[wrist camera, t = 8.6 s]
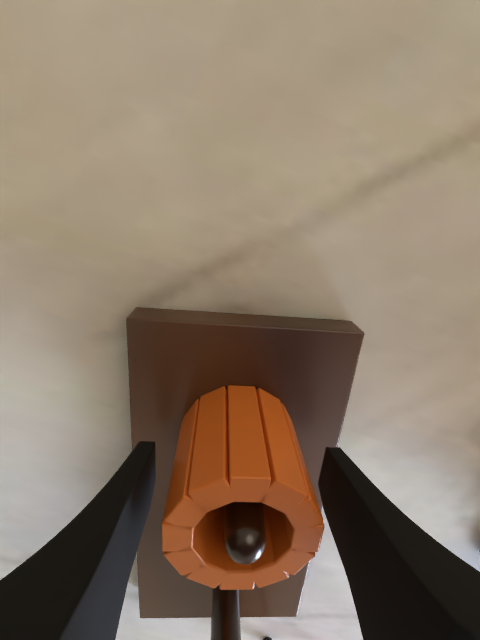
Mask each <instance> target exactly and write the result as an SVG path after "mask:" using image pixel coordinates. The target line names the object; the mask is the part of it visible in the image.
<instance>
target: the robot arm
mask: <svg viewBox="0 0 480 640" xmlns="http://www.w3.org/2000/svg"><path fill="white" fill-rule="evenodd" d="M155 482H156V449H155V442H152V441H140V442H139V443H138V444H137V445H136V446H135V448H134V449H133V451H132V452H131V454H130V455H129V456H128V458H127V459H126V460H125V462H124V463H123V464H122V466H121V467H120V468H119V469H118V471H117V472H116V473H115V474H114V475H113V477H112V478H111V479H110V480H109V482H108V483H107V484H106V485H105V486H104V487H103V489H102V490H101V491H100V492H99V493H98V494H97V495H96V496H95V497H94V499H93V500H92V501H91V502H90V503H89V504H88V505H87V506H86V507H85V508H84V509H83V510H82V511H81V512H80V513H79V514H78V515H77V516H76V517H75V518H74V519H73V520H72V521H71V522H70V523H69V524H68V525H67V526H66V527H65V528H64V529H62V530H61V531H60V532H59V533H58V534H57V535H56V536H55V537H54V538H52V539H51V540H50V541H49V542H48V543H47V544H46V545H44V546H43V547H42V548H41V549H40V550H39V551H37V552H36V553H35V554H34V555H32V556H31V557H30V558H29V559H27V560H26V561H25V562H24V563H22V564H21V565H20V566H18V567H17V568H16V569H15V570H13V571H12V572H11V573H10V574H8V575H7V576H6V577H4V578H3V579H2V580H0V640H115V638H116V633H117V628H118V624H119V619H120V614H121V610H122V605H123V601H124V597H125V592H126V588H127V583H128V579H129V576H130V572H131V568H132V565H133V562H134V559H135V555H136V552H137V549H138V546H139V542H140V539H141V536H142V533H143V529H144V526H145V523H146V520H147V516H148V513H149V510H150V506H151V502H152V497H153V492H154V487H155ZM318 487H319V491H320V496H321V500H322V504H323V509H324V512H325V515H326V518H327V520H328V523H329V526H330V529H331V532H332V535H333V537H334V540H335V543H336V546H337V549H338V552H339V554H340V557H341V560H342V563H343V566H344V569H345V572H346V575H347V578H348V581H349V585H350V588H351V592H352V596H353V600H354V604H355V607H356V611H357V615H358V619H359V623H360V627H361V632H362V636H363V640H480V572H479V571H478V570H476V569H475V568H473V567H472V566H470V565H469V564H467V563H466V562H464V561H463V560H462V559H460V558H459V557H457V556H456V555H455V554H453V553H452V552H451V551H449V550H448V549H447V548H445V547H444V546H443V545H441V544H440V543H439V542H437V541H436V540H435V539H433V538H432V537H431V536H430V535H428V534H427V533H426V532H425V531H424V530H422V529H421V528H420V527H419V526H418V525H416V524H415V523H414V522H413V521H412V520H410V519H409V518H408V517H407V516H406V515H405V514H404V513H403V512H402V511H400V510H399V509H398V508H397V507H396V506H395V505H394V504H393V503H392V502H391V501H390V500H389V499H388V498H387V497H386V496H385V495H384V494H383V493H382V492H381V491H380V490H379V489H378V488H377V487H376V486H375V485H374V484H373V483H372V482H371V481H370V480H369V479H368V478H367V477H366V476H365V475H364V474H363V472H362V471H361V470H360V469H359V468H358V467H357V466H356V465H355V464H354V463H353V461H352V460H351V459H350V458H349V457H348V456H347V455H346V454H345V453H344V452H343V451H342V449H341V448H337V447H326V449H325V453H324V458H323V462H322V467H321V471H320V476H319V480H318ZM479 554H480V550H479Z"/></svg>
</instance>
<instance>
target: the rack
mask: <svg viewBox="0 0 480 640" xmlns="http://www.w3.org/2000/svg"><path fill="white" fill-rule="evenodd" d="M126 322H127V344H128V366H129V388H130V410H131V432H132V451H133V449H134V448H135V446H136V445H137V444H138V443H139V442H140V441H152V442H155V449H156V482H155V487H154V492H153V497H152V502H151V506H150V510H149V513H148V516H147V520H146V523H145V526H144V529H143V533H142V536H141V539H140V542H139V546H138V549H137V564H138V586H139V608H140V618H198V617H212V618H211V640H241V634H240V617H296V616H297V612H298V608H299V604H300V599H301V595H302V591H303V587H304V583H305V579H306V574H307V570H308V566H309V562H310V561H309V562H308V563H307V564H306V565H305V566H304V567H303V568H301V569H300V570H299V571H298V572H297V573H296V574H295V575H292V574H289V577H288V578H287V579H284V580H281V581H278V582H276V583H273V584H270V585H267V586H264V587H261V588H258V587H257V586H256V584H255V585H254V589H252V590H221V589H220V587H219V585H218V586H217V587H216V588H211V587H209V586H206V585H203V584H201V583H198V582H195V581H193V580H190V579H187V578H186V574H185V575H180V574H179V573H178V571H177V570H176V569H175V568H174V567H173V566H172V564H171V563H170V562H169V561H168V560H167V559H166V557H165V556H164V554H163V553H164V551H162V528H161V524H162V519H163V514H164V509H165V504H166V499H167V494H168V489H169V484H170V479H171V474H172V469H173V464H174V459H175V454H176V449H177V444H178V439H179V433H180V428H181V423H182V421H183V417H184V416H185V414H186V413H187V412H188V410H189V409H190V408H191V406H192V405H193V404H194V402H195V401H196V400H197V399H199V400H200V397H201V396H202V395H205V394H207V393H209V392H212V391H214V390H216V389H218V388H221V387H223V386H225V388H226V389H227V390H228V386H229V385H234V386H254V387H255V388H256V390H257V389H258V388H261V389H262V390H264V391H266V392H267V393H269V394H271V395H273V396H274V397H276V398H278V399H279V400H280V402H281V403H282V404H284V406H285V408H286V410H287V412H288V414H289V416H290V418H291V420H292V423H293V426H294V429H295V432H296V435H297V439H298V442H299V445H300V448H301V451H302V454H303V458H304V461H305V464H306V467H307V470H308V473H309V476H310V480H311V483H312V486H313V489H314V492H315V495H316V499H317V502H318V505H319V508H320V511H321V512H322V508H323V504H322V500H321V496H320V491H319V487H318V480H319V476H320V471H321V467H322V462H323V458H324V453H325V449H326V447H337V446H338V441H339V437H340V433H341V429H342V425H343V421H344V416H345V412H346V408H347V404H348V400H349V396H350V391H351V387H352V383H353V379H354V375H355V371H356V366H357V362H358V358H359V354H360V350H361V346H362V342H363V337H364V332H363V331H362V330H361V329H360V328H358V327H357V326H356V325H355V324H354V323H353V322H352V321H342V320H326V319H311V318H295V317H279V316H264V315H248V314H232V313H216V312H201V311H185V310H169V309H153V308H138V307H137V308H135V309H134V311H133V312H132V313H131V314H130V315H129V316H128V317H127V319H126ZM223 542H224V547H225V550H226V552H227V554H228V556H229V557H230V558H231V559H232V560H233V561H235V562H236V563H238V564H242V565H248V564H251V563H254V562H255V561H257V560H258V559H259V558H260V556H261V555H262V553H263V551H264V549H265V545H266V531H265V523H264V515H263V507H262V502H232V503H229V504H227V505H224V506H223Z"/></svg>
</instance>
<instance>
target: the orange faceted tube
mask: <svg viewBox="0 0 480 640" xmlns="http://www.w3.org/2000/svg"><path fill="white" fill-rule="evenodd" d="M232 502H262V507H263V515H264V523H265V531H266V545H265V549H264V551H263V553H262V555H261V556H260V558H259V559H258V560H257V561H255V562H254V563H251V564H248V565H242V564H238V563H236V562H235V561H233V560H232V559H231V558H230V557H229V556H228V554H227V552H226V550H225V547H224V542H223V506H224V505H227V504H229V503H232ZM161 528H162V551H164V553H163V554H164V556H165V557H166V559H167V560H168V561H169V562H170V563H171V564H172V566H173V567H174V568H175V569H176V570H177V571H178V573H179V574H180V575H185V574H186V578H187V579H190V580H193V581H195V582H198V583H201V584H203V585H206V586H209V587H211V588H216V587H217V586H218V585H219V587H220V589H221V590H252V589H254V585H255V584H256V586H257V587H258V588H261V587H264V586H267V585H270V584H273V583H276V582H278V581H281V580H284V579H287V578H288V577H289V574H292V575H295V574H296V573H297V572H298V571H299V570H300V569H301V568H303V567H304V566H305V565H306V564H307V563H308V562H309V561H310V560H311V559H312V558H313V557H315V552H318V550H319V546H320V542H321V538H322V534H323V530H324V524H323V517H322V514H321V511H320V508H319V505H318V502H317V499H316V495H315V492H314V489H313V486H312V483H311V480H310V476H309V473H308V470H307V467H306V464H305V461H304V458H303V454H302V451H301V448H300V445H299V442H298V439H297V435H296V432H295V429H294V426H293V423H292V420H291V418H290V416H289V414H288V412H287V410H286V408H285V406H284V404H282V403H281V402H280V400H279V399H278V398H276V397H274V396H273V395H271V394H269V393H267V392H266V391H264V390H262V389H261V388H258V389H257V390H256V388H255V387H254V386H234V385H229V386H228V390H227V389H226V388H225V386H223V387H221V388H218V389H216V390H214V391H212V392H209V393H207V394H205V395H202V396H201V397H200V400H199V399H197V400H196V401H195V402H194V404H193V405H192V406H191V408H190V409H189V410H188V412H187V413H186V414H185V416H184V417H183V421H182V423H181V428H180V433H179V439H178V444H177V449H176V454H175V459H174V464H173V469H172V474H171V479H170V484H169V489H168V494H167V499H166V504H165V509H164V514H163V519H162V524H161Z"/></svg>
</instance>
